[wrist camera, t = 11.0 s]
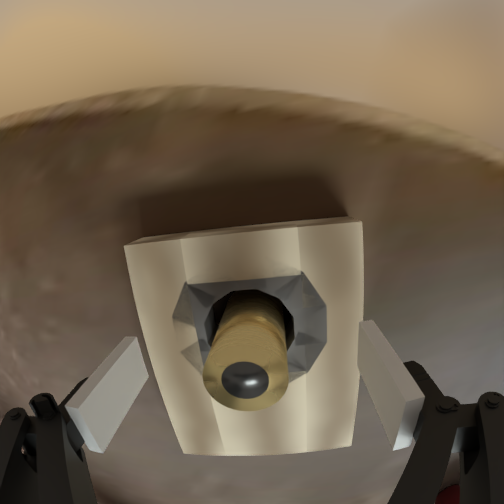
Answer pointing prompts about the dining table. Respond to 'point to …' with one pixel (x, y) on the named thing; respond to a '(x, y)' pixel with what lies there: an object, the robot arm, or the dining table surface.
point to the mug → (449, 495)
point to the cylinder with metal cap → (248, 353)
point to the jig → (297, 332)
